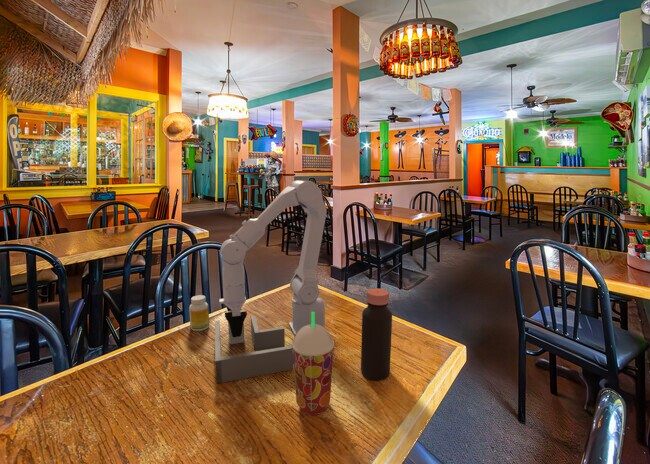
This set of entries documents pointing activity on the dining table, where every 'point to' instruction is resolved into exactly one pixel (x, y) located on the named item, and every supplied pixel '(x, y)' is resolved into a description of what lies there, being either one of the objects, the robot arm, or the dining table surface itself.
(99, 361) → the dining table surface
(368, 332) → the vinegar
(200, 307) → the supplement bottle
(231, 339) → the block
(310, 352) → the smoothie
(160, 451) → the dining table surface
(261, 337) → the rails
